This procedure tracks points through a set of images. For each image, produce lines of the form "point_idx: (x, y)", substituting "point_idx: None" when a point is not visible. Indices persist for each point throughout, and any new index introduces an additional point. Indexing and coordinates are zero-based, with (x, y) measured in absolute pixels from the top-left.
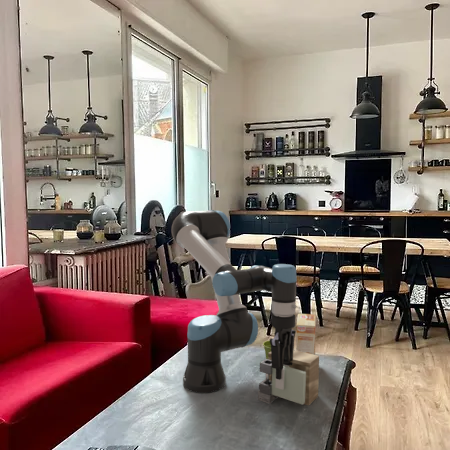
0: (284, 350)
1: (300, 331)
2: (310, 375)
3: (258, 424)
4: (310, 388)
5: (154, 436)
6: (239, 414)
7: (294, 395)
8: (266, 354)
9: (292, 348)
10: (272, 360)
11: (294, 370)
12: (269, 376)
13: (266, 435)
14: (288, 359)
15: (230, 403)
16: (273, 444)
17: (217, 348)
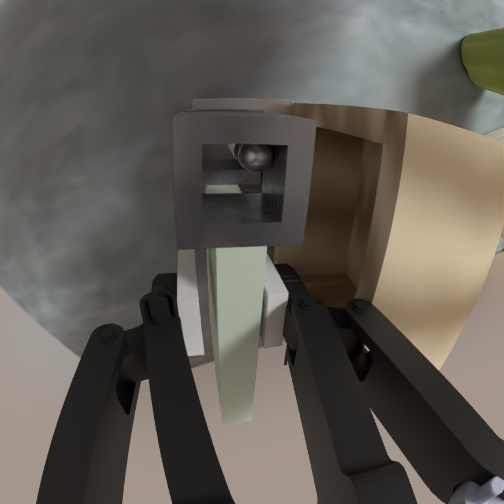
0: (313, 427)
1: None
2: None
3: (45, 217)
4: None
5: None
6: (49, 119)
7: (209, 300)
8: (495, 34)
9: (388, 421)
10: (76, 390)
11: (228, 392)
12: (311, 114)
13: (28, 270)
14: (292, 379)
15: (98, 31)
16: (20, 303)
17: None
